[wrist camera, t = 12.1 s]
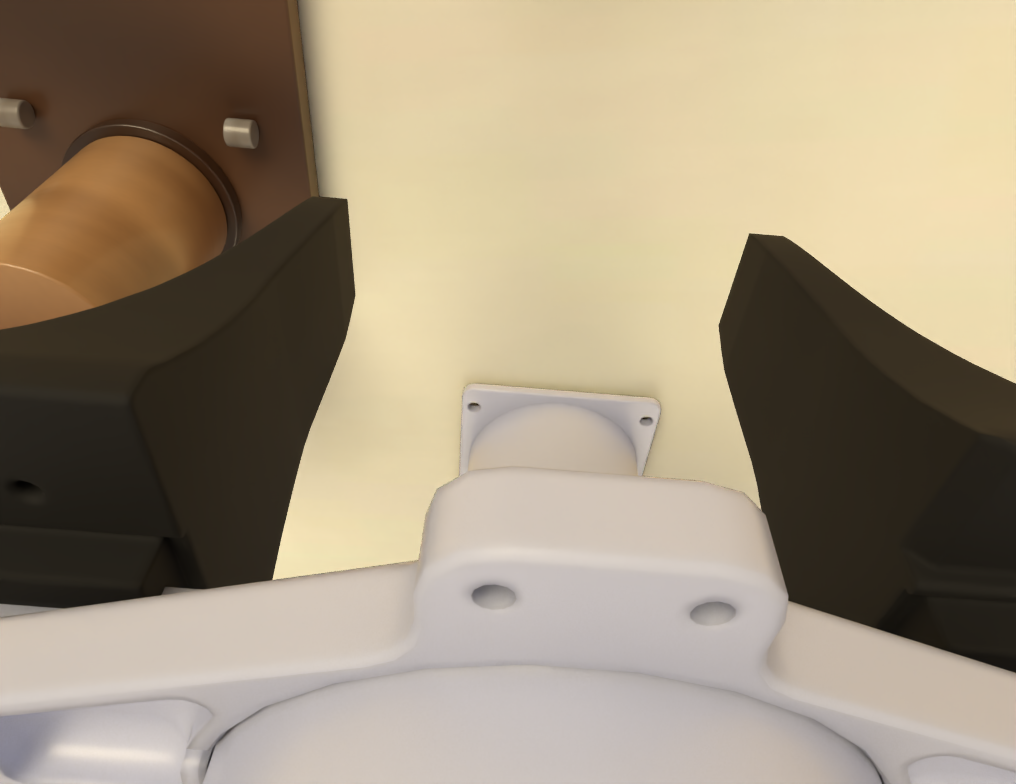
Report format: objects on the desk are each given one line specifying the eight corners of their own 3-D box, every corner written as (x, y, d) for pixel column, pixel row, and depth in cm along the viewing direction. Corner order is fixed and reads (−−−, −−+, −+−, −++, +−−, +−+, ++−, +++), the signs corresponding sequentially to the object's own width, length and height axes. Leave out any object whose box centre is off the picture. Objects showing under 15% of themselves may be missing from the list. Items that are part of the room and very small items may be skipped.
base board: (331, 295, 26) (319, 324, 25) (56, 272, 26) (30, 301, 25) (266, -280, 16) (240, -283, 15) (-188, -325, 16) (-256, -331, 15)
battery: (255, 280, 25) (167, 439, 19) (98, 266, 25) (-37, 423, 19) (225, 126, 21) (106, 266, 16) (41, 110, 21) (-146, 244, 16)
